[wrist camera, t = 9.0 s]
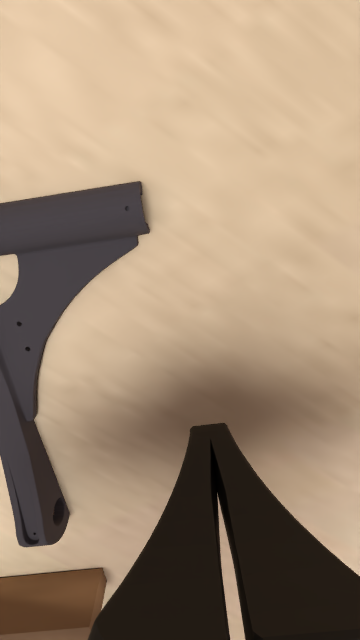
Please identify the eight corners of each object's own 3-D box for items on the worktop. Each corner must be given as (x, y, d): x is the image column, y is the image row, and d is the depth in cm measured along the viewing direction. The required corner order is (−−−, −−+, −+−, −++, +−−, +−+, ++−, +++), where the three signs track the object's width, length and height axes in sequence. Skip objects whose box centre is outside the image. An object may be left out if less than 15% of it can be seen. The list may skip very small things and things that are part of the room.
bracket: (-65, 518, 16) (-111, 578, 13) (-236, 243, 11) (-365, 254, 8) (195, 487, 16) (199, 543, 13) (143, 183, 10) (133, 174, 8)
